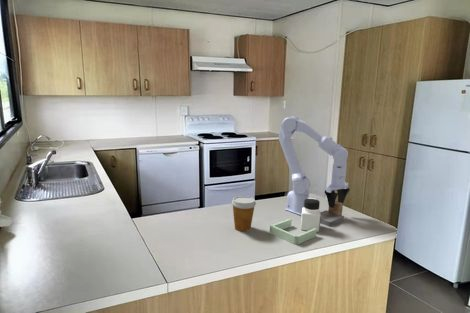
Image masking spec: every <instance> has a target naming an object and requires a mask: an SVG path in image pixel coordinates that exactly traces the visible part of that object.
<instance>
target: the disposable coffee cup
mask: <svg viewBox="0 0 470 313" xmlns="http://www.w3.org/2000/svg"><path fill="white" fill-rule="evenodd" d="M231 204H232V211H233V213H232V214H233V222H234V223H233V224H234V229H235V231H238V232H248V231H250V230H251V228H252V223H253V216H254V210H255V206H256V204H257V202H256V200H255V198H253V197H251V196H245V195H240V196H235V197H233V198H232V201H231Z"/></svg>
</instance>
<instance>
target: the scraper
mask: <svg viewBox="0 0 470 313" xmlns="http://www.w3.org/2000/svg"><path fill="white" fill-rule="evenodd" d="M343 205H344V203H340V202H338V200H335V205H334V208H332V207H329V206H328V210H326V209H325V210H324V211H320V215H321V217H320V225H321V224H322V225H324V226H327V227H333V226H335V225H337V224H339V223H341V222H344V221H345V216H344V215H343Z"/></svg>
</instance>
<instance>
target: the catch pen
mask: <svg viewBox="0 0 470 313" xmlns="http://www.w3.org/2000/svg"><path fill="white" fill-rule="evenodd" d="M292 221H293V219H292V218H288V219H284V220H282V221H278V222H276V223H273V224H271V225H269V233H270V234H271V235H274V236H275V237H277V238H280V239H282V240H285V241H286V242H289V243H292V245H293V244H294V245H295V246H298V245H300V244H302V243H305V242H306V241H308V240H311V239H314V238H315V237H317V232H316V231H317V229H315V228H314V229H311V230H309V231H307V230H305V231H304V232H302V233H299V234H294V233H291V232H289V231H286V230H284V229H287V228H291V227H292Z"/></svg>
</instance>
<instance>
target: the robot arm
mask: <svg viewBox="0 0 470 313" xmlns="http://www.w3.org/2000/svg"><path fill="white" fill-rule="evenodd" d="M279 126H280V129H279V133H278V134H279V135H278V140H279V143H280V146H281V149H282V152H283V154H284V158H285V160H286V164H287V165H288V168H289V171H290V174H291V181H292V190H290V191H289V192H288V193H287V197H286V208H284V209H285V210H286V211H287V212H291V213H293V214H295V215H298V216H302V208H304V200H305V199H307V198H310V192H309V191H308V189H309V187H310V185H311V182H310V179H309V178H308V177H307V176H306V175H305V172H304V171H303V169H302V166H301V163H300V161H299V158H298V156H297V153H296V150H295V147H294V144H293V141H292V139H291V138H292V137H293V136H294V133H295V132H299V133H304V134H306V135H307V137H308V136H309V138H311V139H312V140H314V141H316V142H317V143H318V147H319V148H320V149H321V150H323V151H324V152H325V153H327V155H329V156H331V157H332V159H333V163H332V169H331V182H330V184H329V185H328V186H327V187H326V188H325V189H326V190H324V194H325V196H326V199H327V205H328V208H329V207H332V208H334V205H335V201H337V202H340V203H343V204H344V203H345V200H346V197H347V195H348V194H349V192H350V191H351V190H350V188H349V182H346V176H347V167H348V166H347V163H348V162H347V160H348V158H349V157H348V156H349V152H348V150H347V149H346V148H345V147H343V146H342V145H341V144H338V143H337V142H336V141H335V140H333V137H331V136H325V135H324V136H323V135H321V134H320V133H319V132H318V131H317V130H315V129H314V128H313V127H312V126H311V125H309V124H308V123H307V122H305V121H304V120H303V119H301V118H299V117H298V116H296V115H292V116H288V117H285V118H284V119H283V120H282V122H281V123H280V125H279ZM335 191H337V192H335ZM336 199H337V200H336Z"/></svg>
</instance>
